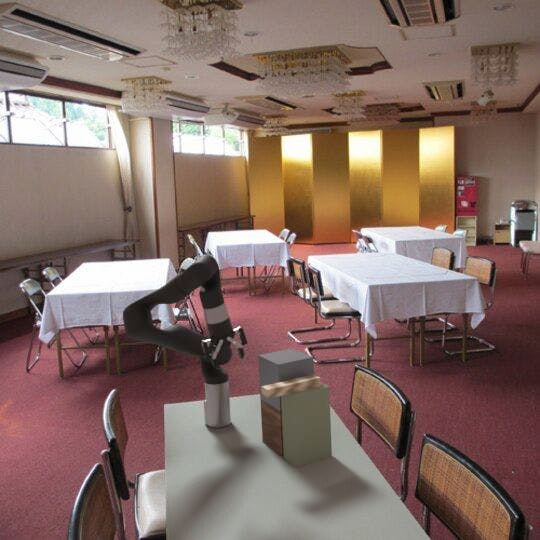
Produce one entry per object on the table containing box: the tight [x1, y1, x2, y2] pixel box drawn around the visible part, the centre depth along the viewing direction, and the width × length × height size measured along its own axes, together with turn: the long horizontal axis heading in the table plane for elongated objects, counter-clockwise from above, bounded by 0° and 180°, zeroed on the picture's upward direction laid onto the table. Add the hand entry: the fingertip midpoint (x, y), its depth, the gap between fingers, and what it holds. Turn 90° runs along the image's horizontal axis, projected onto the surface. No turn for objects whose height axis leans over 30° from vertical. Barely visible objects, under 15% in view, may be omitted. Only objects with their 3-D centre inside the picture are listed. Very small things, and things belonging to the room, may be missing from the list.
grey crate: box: [257, 348, 315, 411], centre depth 199 cm, size 14×14×16 cm
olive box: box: [281, 382, 333, 467], centre depth 190 cm, size 14×8×24 cm, turn 119°
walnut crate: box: [260, 399, 284, 457], centre depth 201 cm, size 14×14×16 cm
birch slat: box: [261, 374, 322, 399], centre depth 186 cm, size 20×4×3 cm, turn 119°
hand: (229, 362), depth 184 cm, fingers open, 8 cm apart
